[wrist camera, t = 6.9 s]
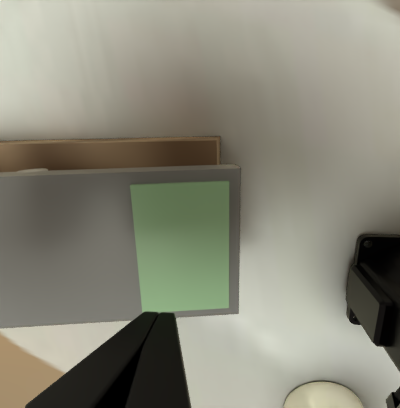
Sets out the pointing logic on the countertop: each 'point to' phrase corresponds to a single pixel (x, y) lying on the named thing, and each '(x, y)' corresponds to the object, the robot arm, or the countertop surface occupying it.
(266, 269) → the countertop surface
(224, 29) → the countertop surface
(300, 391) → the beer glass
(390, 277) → the robot arm
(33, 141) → the switch base
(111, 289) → the grey flat panel
